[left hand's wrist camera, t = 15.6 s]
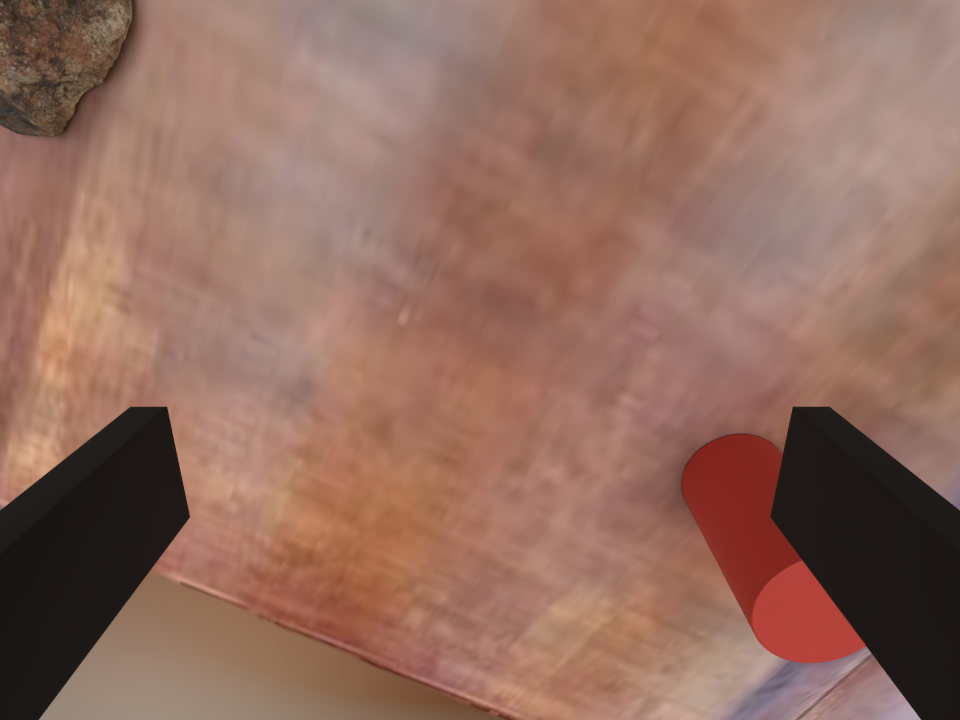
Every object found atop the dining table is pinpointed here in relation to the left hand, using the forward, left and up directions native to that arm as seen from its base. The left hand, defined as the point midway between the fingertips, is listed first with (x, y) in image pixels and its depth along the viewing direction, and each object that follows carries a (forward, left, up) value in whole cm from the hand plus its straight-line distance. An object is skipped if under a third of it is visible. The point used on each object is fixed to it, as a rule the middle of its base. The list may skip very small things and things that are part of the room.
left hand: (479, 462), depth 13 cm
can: (-21, +10, -24) cm, 33 cm away
